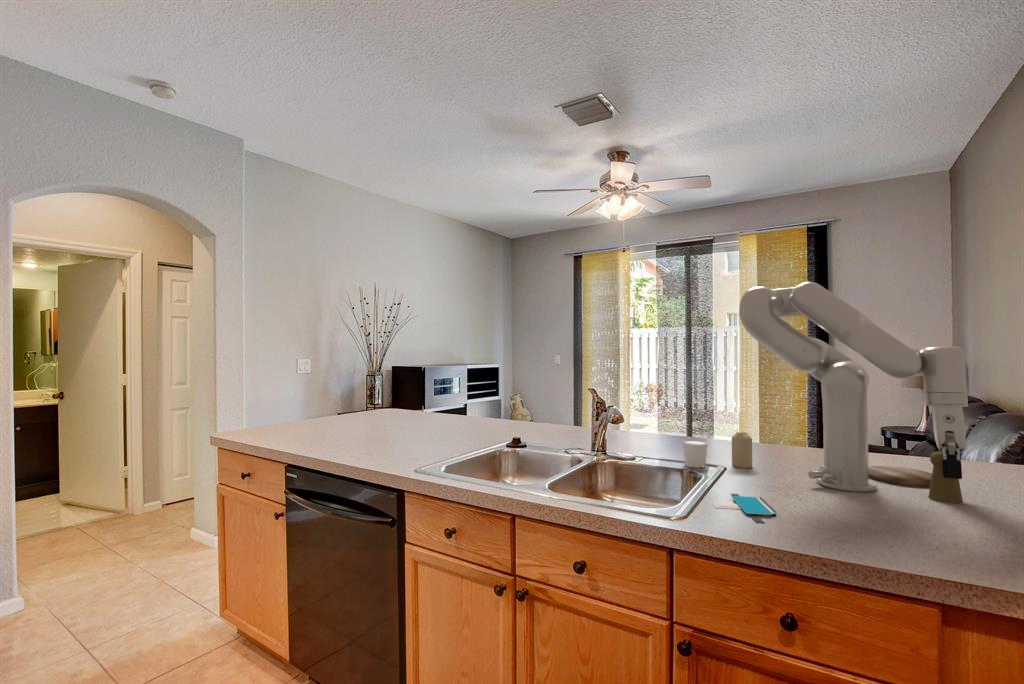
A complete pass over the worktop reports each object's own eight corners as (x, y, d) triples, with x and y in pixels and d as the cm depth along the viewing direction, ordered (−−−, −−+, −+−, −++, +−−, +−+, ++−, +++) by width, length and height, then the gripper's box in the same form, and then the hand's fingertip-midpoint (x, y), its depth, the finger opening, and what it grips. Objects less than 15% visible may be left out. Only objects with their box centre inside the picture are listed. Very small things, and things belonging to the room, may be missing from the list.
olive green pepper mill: (954, 497, 116) (954, 450, 116) (968, 505, 110) (968, 455, 110) (923, 494, 118) (922, 448, 118) (935, 502, 112) (935, 454, 112)
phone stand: (705, 495, 120) (704, 488, 120) (757, 497, 118) (757, 490, 118) (725, 523, 101) (725, 515, 101) (788, 527, 99) (788, 519, 99)
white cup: (709, 468, 144) (709, 444, 144) (685, 467, 145) (684, 444, 146) (705, 463, 151) (705, 440, 151) (681, 462, 152) (681, 439, 152)
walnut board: (906, 488, 123) (906, 482, 123) (850, 473, 138) (849, 467, 138) (956, 484, 126) (956, 479, 126) (895, 469, 142) (895, 464, 142)
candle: (743, 469, 143) (743, 434, 143) (727, 465, 148) (727, 432, 148) (756, 467, 146) (756, 433, 146) (740, 463, 151) (739, 430, 151)
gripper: (972, 403, 105) (977, 484, 104) (963, 396, 119) (967, 468, 118) (926, 402, 110) (931, 479, 109) (922, 396, 123) (926, 464, 123)
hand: (950, 473), depth 113 cm, fingers open, 9 cm apart
